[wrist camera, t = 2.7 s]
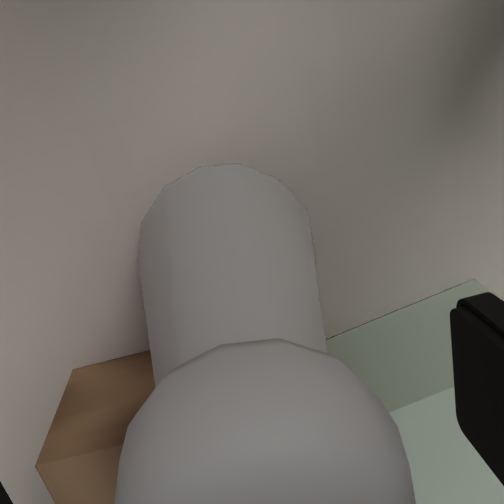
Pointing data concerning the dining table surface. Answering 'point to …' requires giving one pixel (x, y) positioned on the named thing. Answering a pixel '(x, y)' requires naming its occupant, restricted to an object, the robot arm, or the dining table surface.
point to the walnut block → (94, 429)
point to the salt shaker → (247, 361)
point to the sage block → (422, 395)
